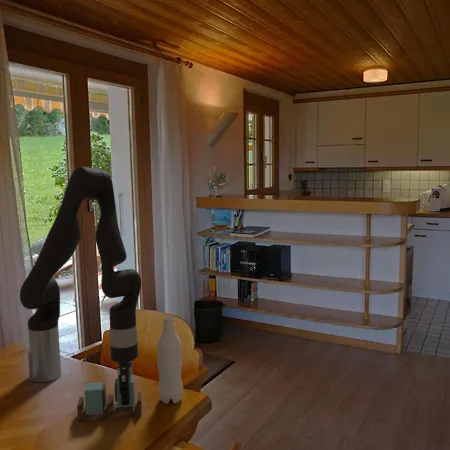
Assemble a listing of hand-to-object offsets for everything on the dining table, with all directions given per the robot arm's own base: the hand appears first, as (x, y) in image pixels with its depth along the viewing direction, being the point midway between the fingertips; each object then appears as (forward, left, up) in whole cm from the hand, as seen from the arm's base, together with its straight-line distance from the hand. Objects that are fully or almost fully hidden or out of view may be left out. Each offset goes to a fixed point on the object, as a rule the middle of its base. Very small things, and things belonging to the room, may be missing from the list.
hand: (126, 399), depth 133 cm
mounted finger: (-8, 0, -2) cm, 9 cm away
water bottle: (+13, +5, -4) cm, 14 cm away
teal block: (0, 0, -1) cm, 1 cm away
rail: (-4, 0, -4) cm, 6 cm away
